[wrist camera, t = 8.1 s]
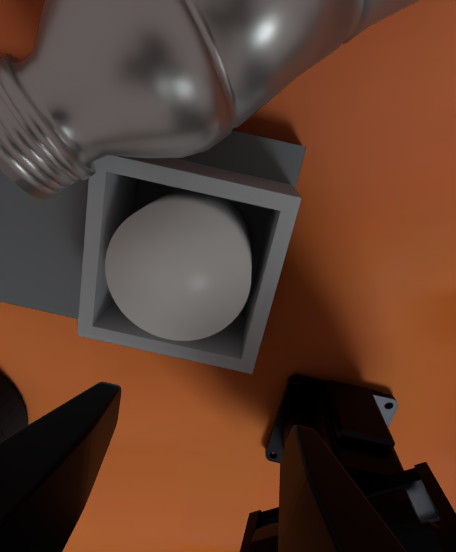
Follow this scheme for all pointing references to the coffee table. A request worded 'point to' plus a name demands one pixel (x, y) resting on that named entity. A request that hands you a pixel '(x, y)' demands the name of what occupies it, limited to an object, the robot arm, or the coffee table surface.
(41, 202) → the twin socket base plate
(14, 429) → the pen holder
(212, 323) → the grey button
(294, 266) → the coffee table surface
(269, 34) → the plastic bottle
